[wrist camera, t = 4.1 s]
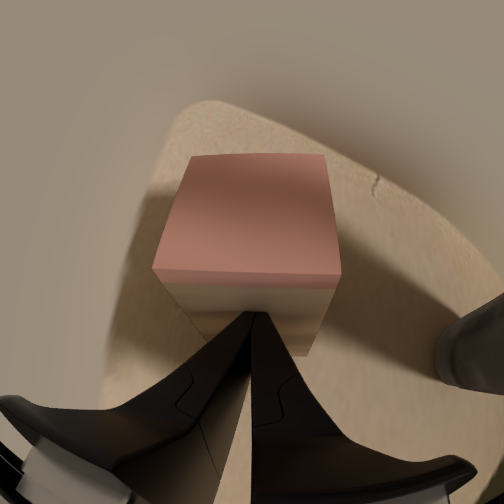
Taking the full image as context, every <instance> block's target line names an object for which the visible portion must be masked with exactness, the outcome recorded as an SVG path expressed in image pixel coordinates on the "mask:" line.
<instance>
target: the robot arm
mask: <svg viewBox="0 0 504 504" xmlns="http://www.w3.org/2000/svg"><path fill="white" fill-rule="evenodd" d="M250 377H251V416H252V464H251V504H450V500H449V495H450V494H451V493H453V492H454V491H456V490H457V489H459V488H460V487H462V486H463V485H465V484H466V483H467V482H469V481H470V480H471V479H473V478H474V477H475V476H476V474H477V473H478V471H477V469H476V468H475V466H474V465H472V464H471V463H470V462H469V461H467V460H465V459H463V458H461V457H458V456H456V455H446V456H442V457H439V458H436V459H432V460H429V461H423V462H410V461H404V460H400V459H397V458H394V457H391V456H388V455H386V454H383V453H380V452H378V451H375V450H372V449H370V448H367V447H365V446H362V445H360V444H358V443H355V442H354V441H352V440H350V439H349V438H348V437H347V436H346V435H344V434H343V433H342V431H341V430H340V429H339V428H338V427H337V425H336V424H335V423H334V422H333V420H332V419H331V418H330V416H329V415H328V414H327V413H326V411H325V410H324V409H323V408H322V406H321V405H320V404H319V402H318V401H317V400H316V398H315V397H314V395H313V394H312V393H311V391H310V390H309V388H308V386H307V385H306V383H305V381H304V379H303V378H302V376H301V374H300V372H299V370H298V368H297V367H296V365H295V363H294V361H293V359H292V357H291V355H290V353H289V351H288V349H287V348H286V346H285V344H284V342H283V340H282V338H281V336H280V334H279V332H278V330H277V329H276V327H275V325H274V323H273V321H272V319H271V317H270V315H269V313H268V312H256V313H255V312H253V311H244V312H242V313H241V314H240V315H239V316H238V317H237V318H235V319H234V320H233V321H232V322H231V323H230V324H229V325H227V326H226V327H225V328H224V329H223V330H222V331H221V332H219V333H218V334H217V335H216V336H215V337H214V338H213V339H211V340H210V341H209V342H208V343H207V344H206V345H204V346H203V347H202V348H201V349H200V350H199V351H197V352H196V353H195V354H194V355H193V356H192V357H190V358H189V359H188V360H187V361H186V363H183V364H182V365H181V366H179V367H178V368H177V369H176V370H175V371H173V372H172V373H171V374H169V375H168V376H167V377H165V378H164V379H162V380H161V381H159V382H158V383H156V384H155V385H153V386H152V387H150V388H149V389H147V390H146V391H144V392H142V393H141V394H139V395H137V396H136V397H134V398H133V399H131V400H129V401H128V402H126V403H124V404H122V405H120V406H118V407H115V408H112V409H107V410H79V409H59V408H49V407H43V406H39V405H36V404H33V403H31V402H29V401H28V400H26V399H25V398H23V397H21V396H18V395H5V396H0V411H1V412H2V413H3V415H4V416H5V417H6V418H7V419H8V421H9V422H10V423H11V424H12V425H13V426H14V427H15V428H16V429H17V430H18V431H19V432H20V434H21V435H22V436H23V437H24V438H25V439H26V440H28V442H29V443H30V444H32V445H33V447H32V449H31V450H30V452H29V454H28V455H27V457H26V459H25V460H24V461H22V460H21V459H20V458H19V457H17V456H16V455H15V454H14V453H13V452H12V451H10V450H9V449H8V448H7V447H6V446H5V445H4V444H3V443H1V442H0V504H213V502H214V499H215V496H216V493H217V490H218V487H219V484H220V480H221V477H222V474H223V471H224V467H225V464H226V461H227V458H228V454H229V451H230V448H231V444H232V441H233V438H234V434H235V431H236V427H237V424H238V420H239V417H240V413H241V410H242V406H243V403H244V399H245V396H246V392H247V388H248V385H249V381H250ZM485 504H504V492H503V493H502V494H500V495H499V496H497V497H495V498H494V499H492V500H490V501H489V502H487V503H485Z"/></svg>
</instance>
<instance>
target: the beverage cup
mask: <svg viewBox="0 0 504 504" xmlns="http://www.w3.org/2000/svg"><path fill="white" fill-rule="evenodd" d="M434 355H435V367H436V371H437V374H438V375H439V377H440V379H441V380H442V381H443V382H445V383H446V384H447V385H452V386H456V387H458V388H461V389H467V390H472V391H478V392H484V393H491V394H498V395H504V293H503V294H501V295H499V296H498V297H496V298H495V299H493V300H491V301H490V302H488V303H486V304H485V305H483V306H481V307H480V308H478V309H476V310H474V311H473V312H471V313H469V314H467V315H465V316H464V317H462V318H461V319H459V320H458V321H457V322H454V323H452V324H451V325H449V326H447V327H446V329H445V330H444V331H443V332H442V333H441V335H440V337H439V339H438V341H437V344H436V349H435V353H434Z"/></svg>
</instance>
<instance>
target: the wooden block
mask: <svg viewBox="0 0 504 504" xmlns="http://www.w3.org/2000/svg"><path fill="white" fill-rule="evenodd" d="M152 270H153V271H154V272H155V274H156V275H157V277H158V278H159V279H160V281H161V282H162V284H163V285H164V286H165V288H166V289H167V291H168V292H169V293H170V295H171V296H172V297H173V299H174V300H175V301H176V303H177V304H178V305H179V307H180V308H181V309H182V310H183V312H184V313H185V314H186V316H187V317H188V318H189V320H190V321H191V322H192V323H193V325H194V326H195V327H196V328H197V330H198V331H199V332H200V333H201V335H202V336H203V337H204V338H205V339H206V341H207V342H209V341H210V340H211V339H213V338H214V337H215V336H216V335H217V334H218V333H219V332H221V331H222V330H223V329H224V328H225V327H226V326H227V325H229V324H230V323H231V322H232V321H233V320H234V319H235V318H237V317H238V316H239V315H240V314H241V313H242V312H244V311H253V312H255V313H256V312H268V313H269V315H270V317H271V319H272V321H273V323H274V325H275V327H276V329H277V330H278V332H279V334H280V336H281V338H282V340H283V342H284V344H285V346H286V348H287V349H288V351H289V353H290V355H291V356H307V354H308V352H309V350H310V348H311V346H312V344H313V342H314V339H315V337H316V335H317V333H318V331H319V328H320V326H321V324H322V321H323V319H324V317H325V314H326V312H327V310H328V307H329V305H330V303H331V300H332V298H333V295H334V293H335V290H336V288H337V285H338V283H339V280H340V278H341V275H342V272H341V262H340V253H339V244H338V236H337V229H336V221H335V214H334V208H333V201H332V195H331V189H330V183H329V177H328V172H327V166H326V161H325V156H324V155H319V154H285V153H257V154H223V155H204V156H192V157H191V159H190V161H189V164H188V166H187V169H186V171H185V174H184V176H183V179H182V181H181V184H180V186H179V189H178V192H177V194H176V197H175V200H174V202H173V205H172V208H171V211H170V213H169V216H168V219H167V222H166V225H165V228H164V231H163V234H162V237H161V240H160V243H159V246H158V249H157V252H156V255H155V259H154V262H153V265H152Z"/></svg>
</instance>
